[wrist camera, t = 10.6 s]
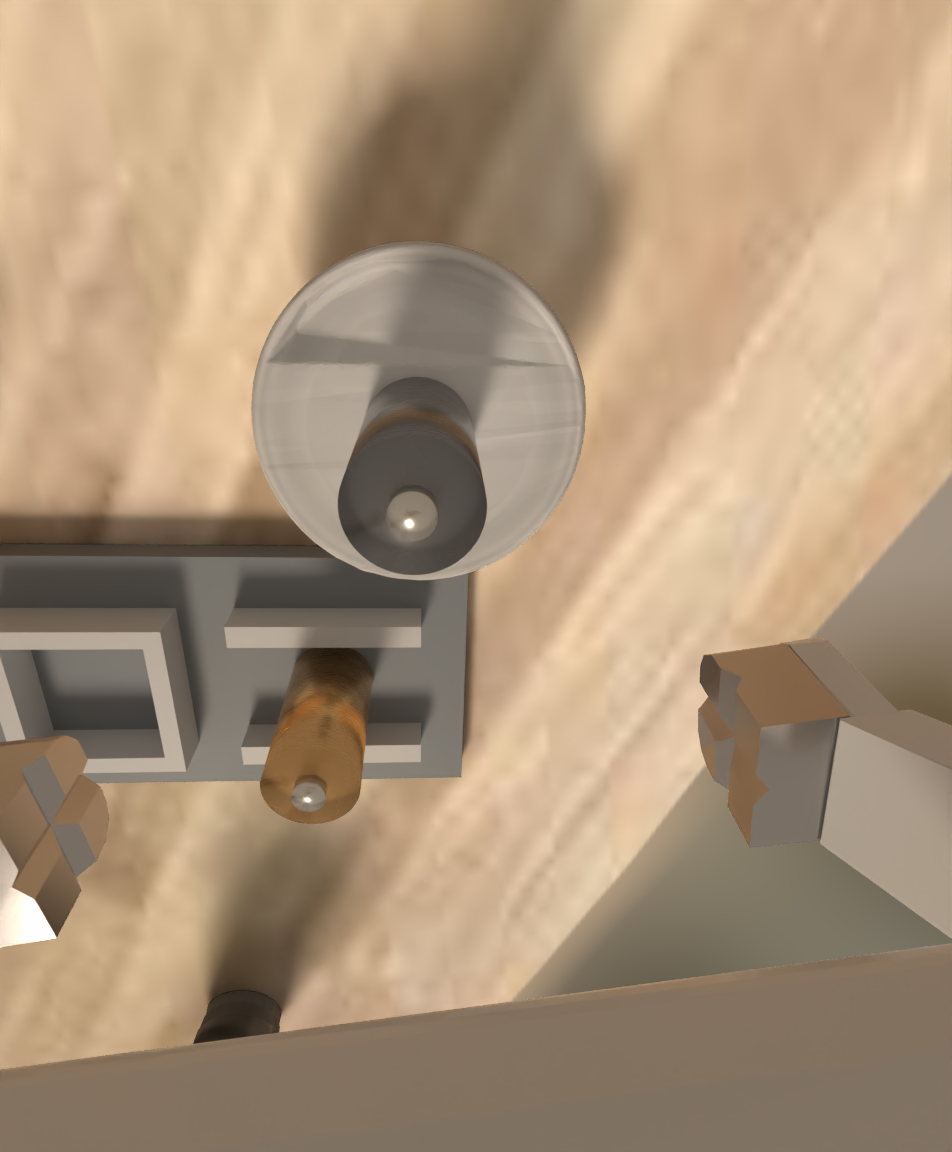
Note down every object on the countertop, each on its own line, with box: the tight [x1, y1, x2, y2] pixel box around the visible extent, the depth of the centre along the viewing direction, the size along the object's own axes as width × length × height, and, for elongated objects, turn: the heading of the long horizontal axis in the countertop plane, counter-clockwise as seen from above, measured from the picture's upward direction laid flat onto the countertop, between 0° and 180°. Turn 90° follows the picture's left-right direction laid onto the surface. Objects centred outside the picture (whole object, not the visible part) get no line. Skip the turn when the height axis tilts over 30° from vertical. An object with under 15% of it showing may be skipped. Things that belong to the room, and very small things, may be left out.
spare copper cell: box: [260, 648, 373, 824], centre depth 29 cm, size 4×4×8 cm
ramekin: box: [251, 241, 586, 580], centre depth 26 cm, size 11×11×5 cm
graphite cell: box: [338, 377, 487, 575], centre depth 20 cm, size 4×4×8 cm
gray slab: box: [0, 544, 468, 783], centre depth 31 cm, size 22×12×3 cm, turn 88°
